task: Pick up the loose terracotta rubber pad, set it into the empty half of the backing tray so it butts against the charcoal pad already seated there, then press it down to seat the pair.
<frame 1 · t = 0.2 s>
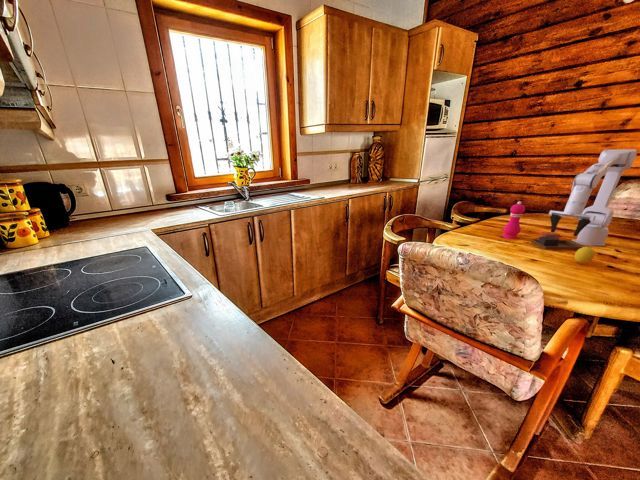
hand: (563, 234, 122), 11 cm above the table, tool pointing down, fingers open, 7 cm apart
lemon: (580, 264, 117), on the table
backing tray: (554, 247, 136), on the table
pepper mill: (509, 238, 151), on the table
pad a: (546, 245, 136), resting on backing tray
pad b: (548, 240, 145), on the table
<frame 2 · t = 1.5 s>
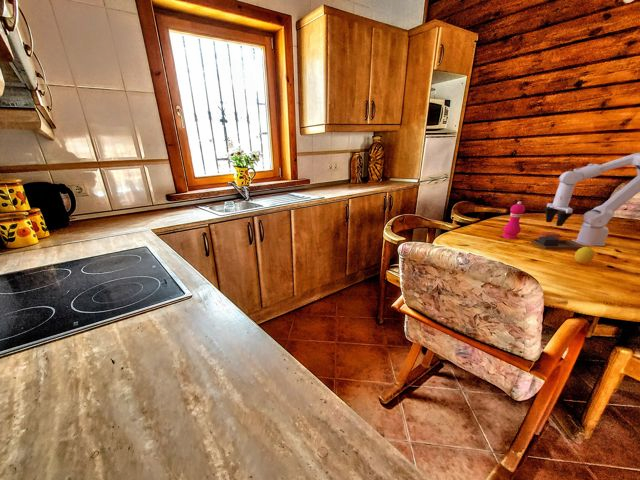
hand: (553, 223, 141), 9 cm above the table, tool pointing down, fingers open, 7 cm apart
nothing on the table moved.
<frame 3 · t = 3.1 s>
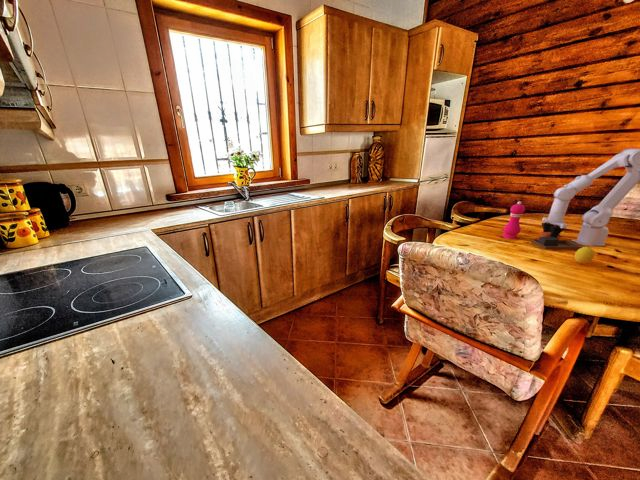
hand: (549, 238, 144), 1 cm above the table, tool pointing down, fingers closed on pad b, 4 cm apart
pad b: (548, 240, 144), on the table, touching gripper
everything else where it was.
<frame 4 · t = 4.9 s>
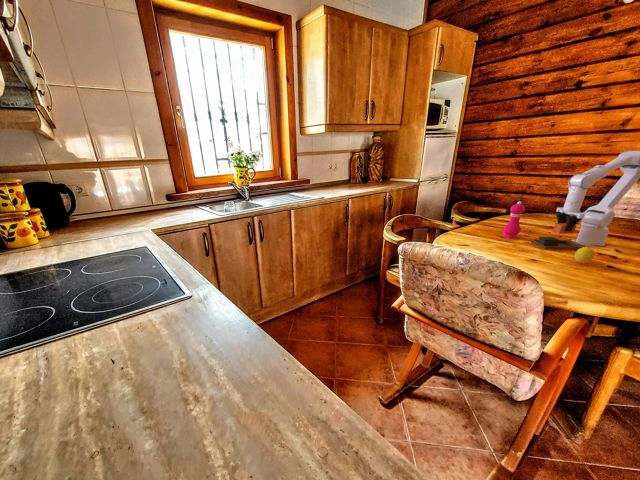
hand: (564, 229, 134), 8 cm above the table, tool pointing down, fingers closed on pad b, 4 cm apart
pad b: (562, 232, 135), point 7 cm above the table, touching gripper
everything else where it was.
when the fingers open (2 cm above the table, at t = 7.0 s): pad b stays where it is, resting on backing tray.
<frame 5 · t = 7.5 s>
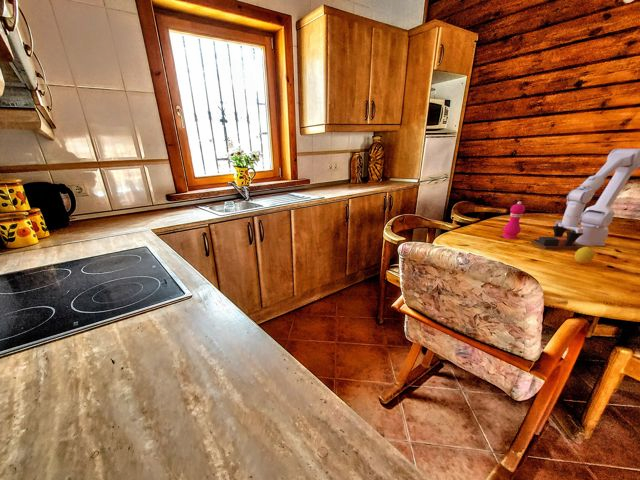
hand: (562, 243, 135), 2 cm above the table, tool pointing down, fingers open, 7 cm apart
pad b: (561, 246, 135), resting on backing tray
everything else where it was.
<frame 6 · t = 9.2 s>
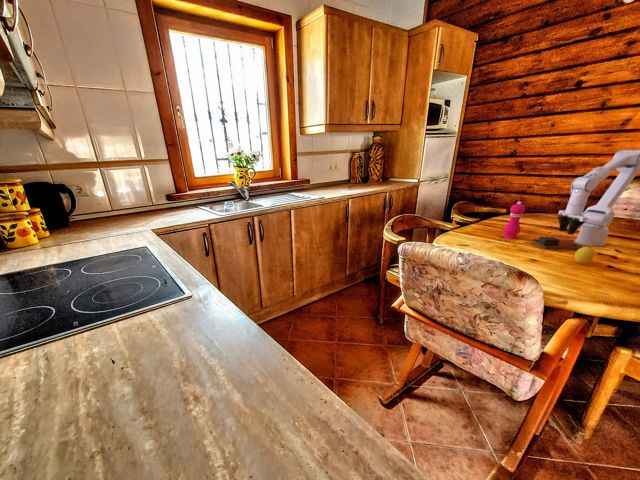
hand: (566, 232, 133), 7 cm above the table, tool pointing down, fingers open, 5 cm apart
nothing on the table moved.
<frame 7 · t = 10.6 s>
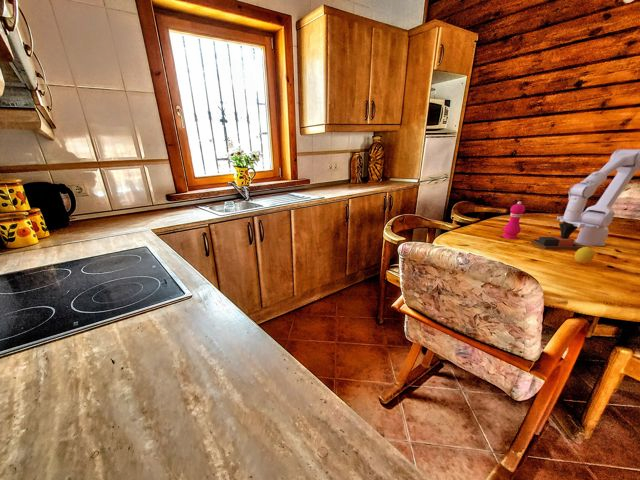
hand: (564, 238, 134), 4 cm above the table, tool pointing down, fingers closed, pressing on pad b
pad b: (561, 246, 135), resting on backing tray, touching gripper
everything else where it was.
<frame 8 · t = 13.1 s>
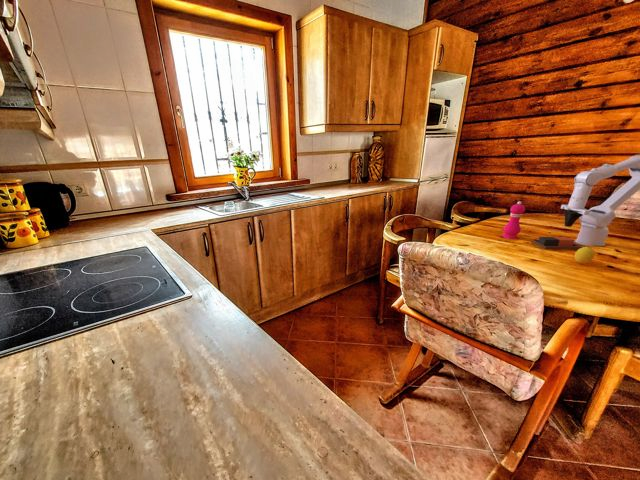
hand: (567, 226, 135), 9 cm above the table, tool pointing down, fingers closed
pad b: (561, 246, 135), resting on backing tray
everything else where it was.
at the end: pad b 0.4 cm from the target spot in the backing tray, point 0.5 cm above the backing tray's base; pad b 6.2 cm from the pad a (horizontally); pad b tilted 0° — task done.
